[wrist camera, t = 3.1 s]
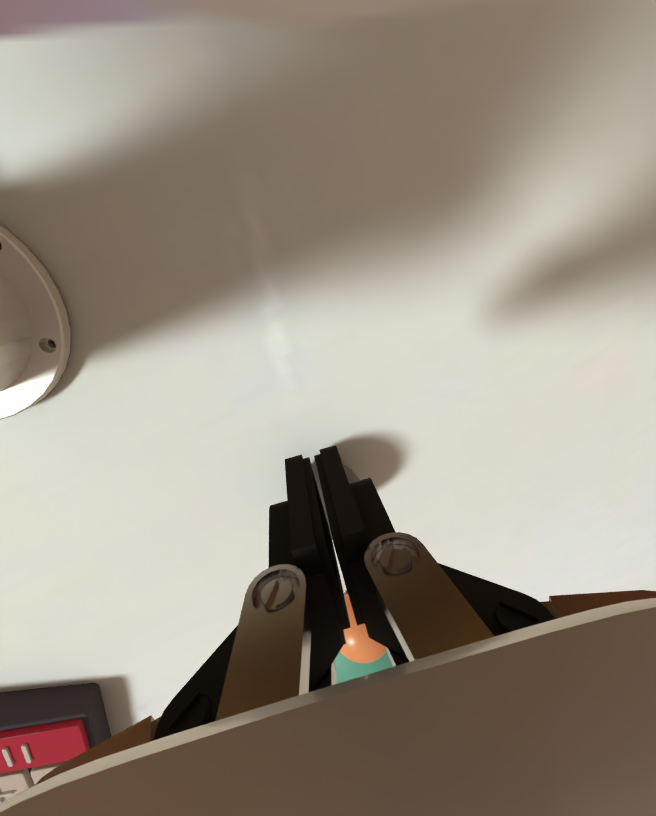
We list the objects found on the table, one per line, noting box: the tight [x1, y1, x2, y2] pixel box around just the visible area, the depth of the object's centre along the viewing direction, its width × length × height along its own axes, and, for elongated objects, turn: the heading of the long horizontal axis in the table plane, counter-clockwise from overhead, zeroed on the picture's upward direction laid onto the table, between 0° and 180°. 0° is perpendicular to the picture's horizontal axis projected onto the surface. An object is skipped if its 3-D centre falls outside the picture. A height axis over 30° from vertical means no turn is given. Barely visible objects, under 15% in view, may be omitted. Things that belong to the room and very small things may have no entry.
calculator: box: [0, 683, 111, 804], centre depth 33 cm, size 11×4×15 cm
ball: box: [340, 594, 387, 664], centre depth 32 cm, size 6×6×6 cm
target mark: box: [334, 651, 393, 684], centre depth 39 cm, size 14×14×1 cm
